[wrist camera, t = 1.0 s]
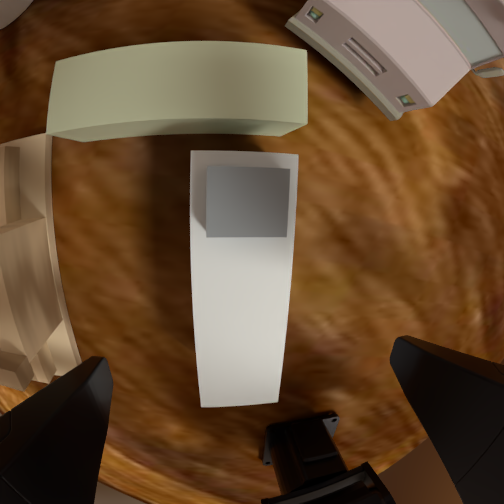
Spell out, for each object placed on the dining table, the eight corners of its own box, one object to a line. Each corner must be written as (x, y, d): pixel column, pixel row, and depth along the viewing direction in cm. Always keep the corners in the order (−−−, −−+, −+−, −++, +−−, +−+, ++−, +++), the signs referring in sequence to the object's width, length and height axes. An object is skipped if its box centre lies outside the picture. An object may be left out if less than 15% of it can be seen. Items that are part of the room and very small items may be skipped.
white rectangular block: (260, 350, 18) (282, 415, 13) (200, 353, 18) (201, 421, 12) (269, 159, 15) (307, 153, 9) (195, 158, 14) (189, 148, 9)
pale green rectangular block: (279, 136, 15) (307, 124, 10) (84, 142, 13) (45, 134, 9) (280, 79, 14) (306, 50, 10) (89, 85, 12) (56, 61, 8)
